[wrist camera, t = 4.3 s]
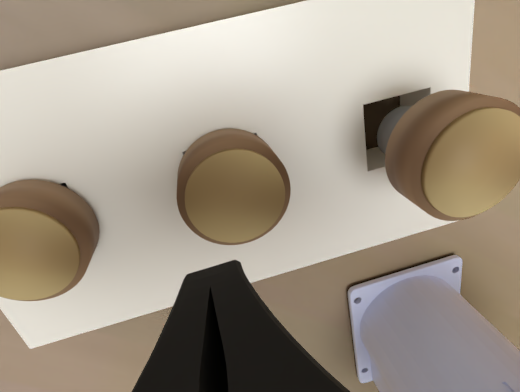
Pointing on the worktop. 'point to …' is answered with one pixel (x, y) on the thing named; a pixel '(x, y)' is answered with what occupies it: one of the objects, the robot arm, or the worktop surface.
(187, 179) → the knob middle
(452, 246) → the worktop surface
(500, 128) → the knob
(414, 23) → the mount plate
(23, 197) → the knob
